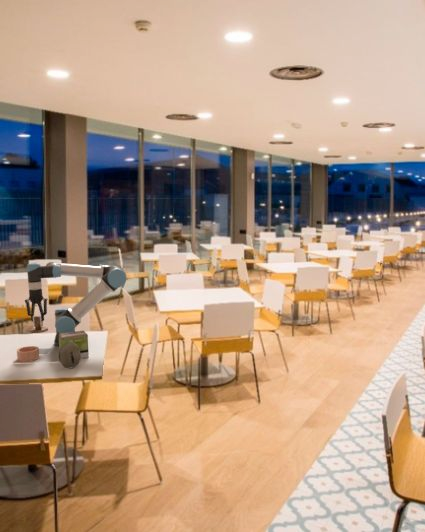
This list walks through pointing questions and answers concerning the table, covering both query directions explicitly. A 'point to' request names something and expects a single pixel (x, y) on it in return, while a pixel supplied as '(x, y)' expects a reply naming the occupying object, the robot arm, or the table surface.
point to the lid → (38, 326)
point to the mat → (44, 351)
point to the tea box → (76, 341)
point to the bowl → (28, 353)
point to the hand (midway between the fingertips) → (38, 326)
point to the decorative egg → (69, 354)
